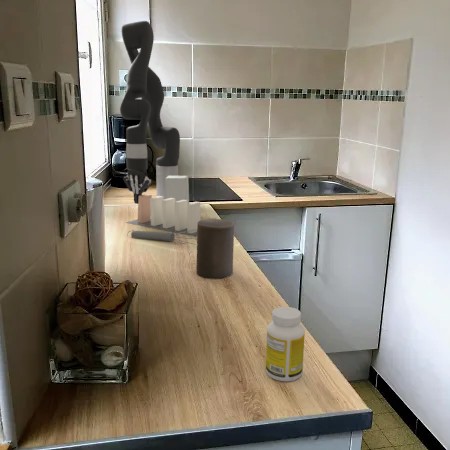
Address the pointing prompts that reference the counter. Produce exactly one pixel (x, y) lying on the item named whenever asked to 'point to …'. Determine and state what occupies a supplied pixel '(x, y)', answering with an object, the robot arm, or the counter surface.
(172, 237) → the kitchen whisk
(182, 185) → the skincare box
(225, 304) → the counter surface
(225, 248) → the pillar candle
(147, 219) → the domino
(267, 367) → the pill bottle
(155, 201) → the domino
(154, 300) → the counter surface
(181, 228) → the domino
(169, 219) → the domino
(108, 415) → the counter surface
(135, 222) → the mat
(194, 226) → the domino
